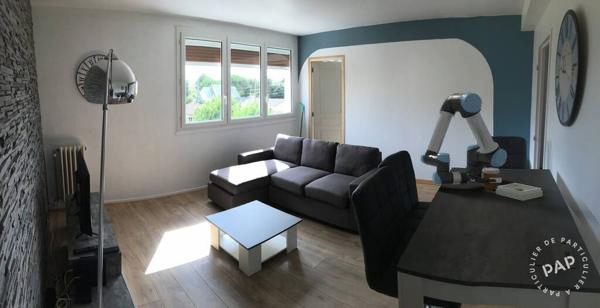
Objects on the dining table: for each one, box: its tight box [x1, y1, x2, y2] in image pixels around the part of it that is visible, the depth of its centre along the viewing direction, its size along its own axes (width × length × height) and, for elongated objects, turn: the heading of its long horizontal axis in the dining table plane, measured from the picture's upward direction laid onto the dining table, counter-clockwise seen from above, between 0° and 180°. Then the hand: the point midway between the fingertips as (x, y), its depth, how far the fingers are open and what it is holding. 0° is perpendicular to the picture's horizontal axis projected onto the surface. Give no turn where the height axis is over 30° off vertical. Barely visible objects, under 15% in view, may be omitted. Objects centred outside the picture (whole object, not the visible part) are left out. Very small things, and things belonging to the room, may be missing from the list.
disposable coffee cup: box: [482, 167, 501, 190], centre depth 212 cm, size 10×10×12 cm
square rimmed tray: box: [495, 182, 544, 202], centre depth 196 cm, size 16×16×4 cm
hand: (496, 177), depth 212 cm, fingers open, 12 cm apart
